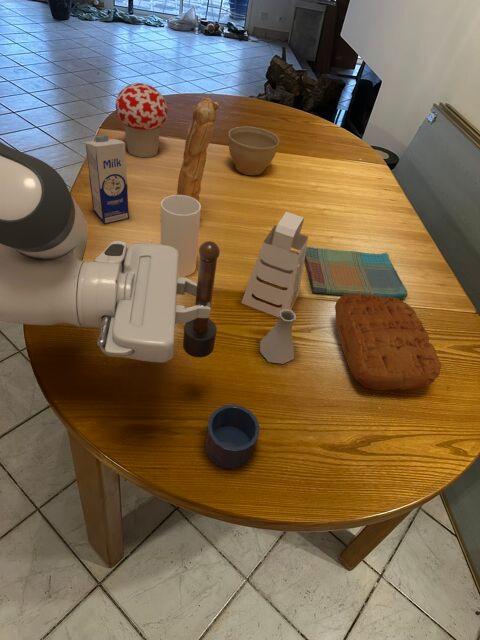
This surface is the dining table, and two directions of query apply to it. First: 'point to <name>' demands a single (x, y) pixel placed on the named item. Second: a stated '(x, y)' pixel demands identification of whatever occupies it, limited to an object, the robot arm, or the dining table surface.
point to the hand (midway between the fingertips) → (209, 301)
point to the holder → (231, 436)
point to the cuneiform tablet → (385, 343)
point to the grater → (278, 266)
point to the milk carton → (108, 178)
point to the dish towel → (352, 273)
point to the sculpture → (196, 148)
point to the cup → (181, 230)
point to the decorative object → (141, 117)
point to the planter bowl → (252, 149)
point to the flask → (279, 339)
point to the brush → (203, 329)
